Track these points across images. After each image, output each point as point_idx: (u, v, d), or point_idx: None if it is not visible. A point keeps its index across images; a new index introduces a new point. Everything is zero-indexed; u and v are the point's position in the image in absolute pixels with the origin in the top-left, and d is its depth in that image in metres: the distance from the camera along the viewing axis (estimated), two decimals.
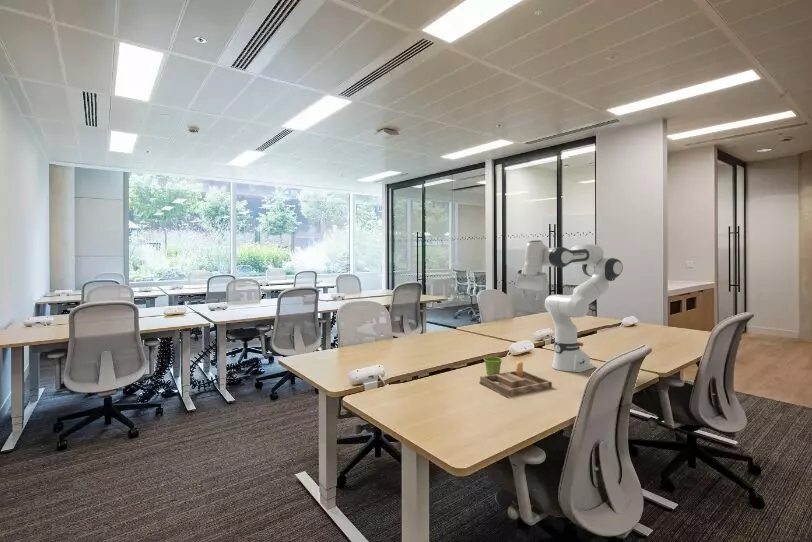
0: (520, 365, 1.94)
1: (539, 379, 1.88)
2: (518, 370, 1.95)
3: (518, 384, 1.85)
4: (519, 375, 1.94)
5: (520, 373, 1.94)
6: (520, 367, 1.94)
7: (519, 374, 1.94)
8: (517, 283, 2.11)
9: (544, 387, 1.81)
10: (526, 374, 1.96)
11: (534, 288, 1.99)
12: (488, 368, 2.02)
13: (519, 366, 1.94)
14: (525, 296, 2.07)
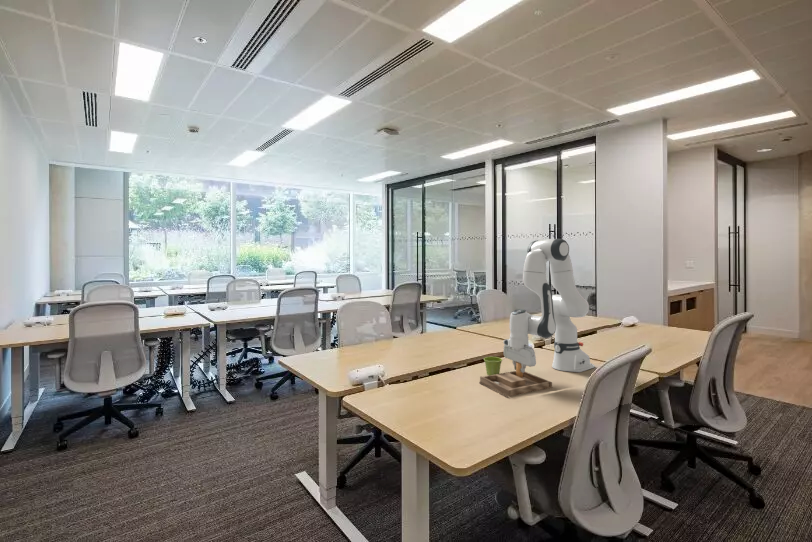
0: (520, 365, 1.94)
1: (539, 379, 1.88)
2: (518, 370, 1.95)
3: (518, 384, 1.85)
4: (519, 375, 1.94)
5: (520, 373, 1.94)
6: (520, 367, 1.94)
7: (519, 374, 1.94)
8: (504, 352, 2.03)
9: (544, 387, 1.81)
10: (526, 374, 1.96)
11: (522, 362, 1.91)
12: (488, 368, 2.02)
13: (519, 366, 1.94)
14: None
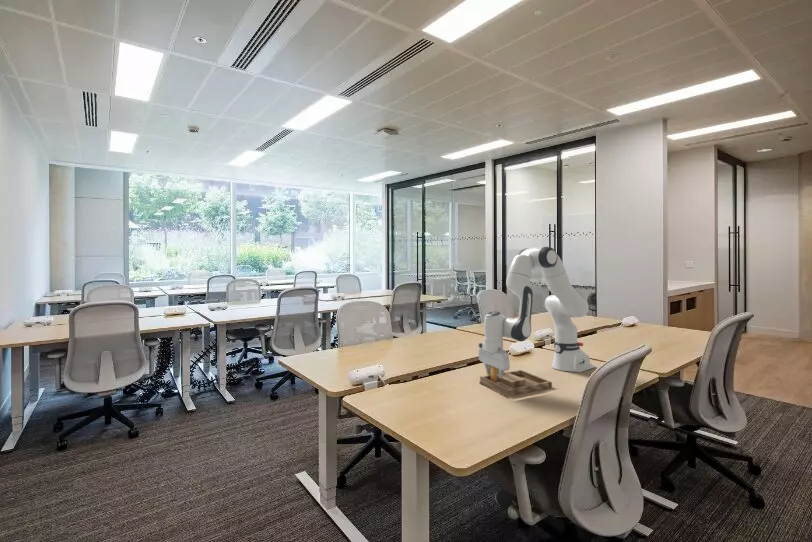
0: (494, 369, 1.88)
1: (539, 379, 1.88)
2: (492, 374, 1.89)
3: (518, 384, 1.85)
4: (493, 379, 1.89)
5: (494, 377, 1.89)
6: (494, 371, 1.88)
7: (493, 378, 1.89)
8: (479, 356, 1.97)
9: (544, 387, 1.81)
10: (526, 374, 1.96)
11: (496, 366, 1.85)
12: None
13: (493, 370, 1.88)
14: (488, 370, 1.94)
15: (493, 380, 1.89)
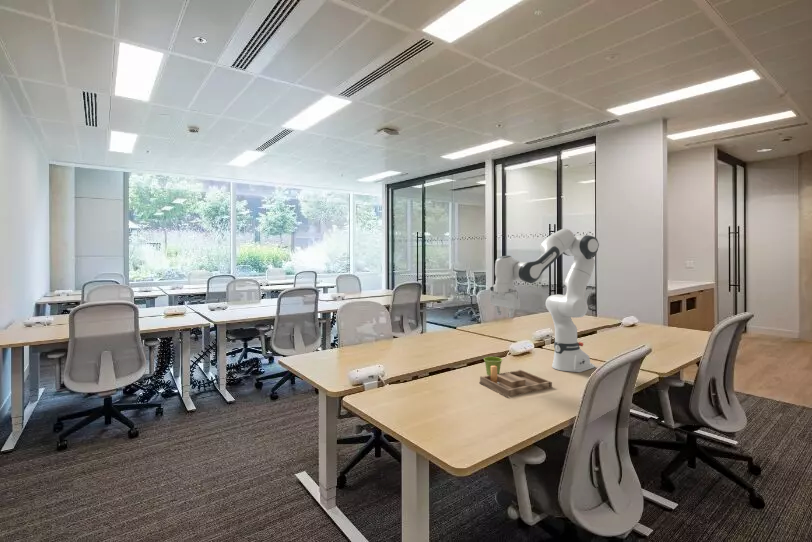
0: (494, 369, 1.88)
1: (539, 379, 1.88)
2: (492, 374, 1.89)
3: (518, 384, 1.85)
4: (493, 379, 1.89)
5: (494, 377, 1.89)
6: (494, 371, 1.88)
7: (493, 378, 1.89)
8: (490, 299, 2.07)
9: (544, 387, 1.81)
10: (526, 374, 1.96)
11: (506, 306, 1.95)
12: (488, 368, 2.02)
13: (493, 370, 1.88)
14: (499, 313, 2.03)
15: (493, 380, 1.89)
